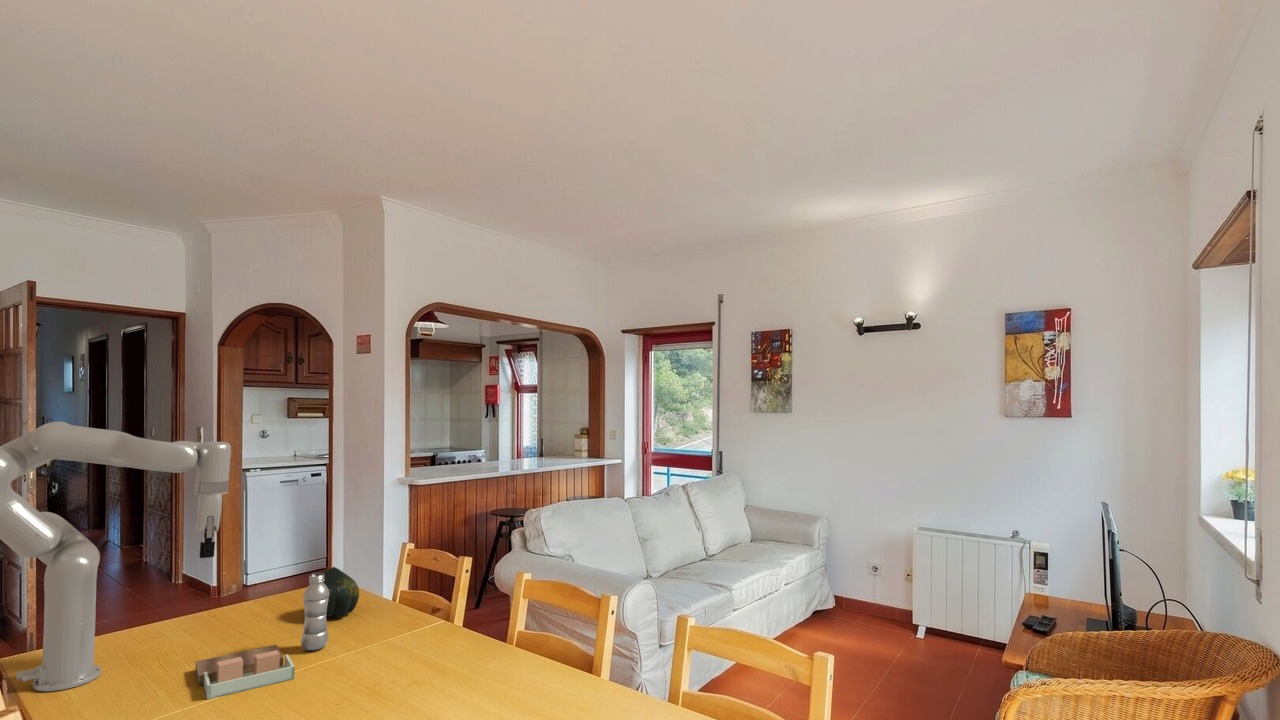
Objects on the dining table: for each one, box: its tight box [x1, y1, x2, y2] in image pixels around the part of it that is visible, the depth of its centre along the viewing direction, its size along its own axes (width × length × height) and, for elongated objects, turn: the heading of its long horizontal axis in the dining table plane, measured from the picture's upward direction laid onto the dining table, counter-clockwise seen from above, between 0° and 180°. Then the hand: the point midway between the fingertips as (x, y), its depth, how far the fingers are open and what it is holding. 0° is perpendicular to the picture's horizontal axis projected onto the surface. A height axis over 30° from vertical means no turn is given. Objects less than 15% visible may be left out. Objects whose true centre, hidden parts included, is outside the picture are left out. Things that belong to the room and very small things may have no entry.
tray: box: [203, 653, 296, 700], centre depth 161 cm, size 18×9×3 cm, turn 128°
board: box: [195, 644, 284, 687], centre depth 167 cm, size 18×10×2 cm, turn 128°
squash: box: [323, 566, 360, 619], centre depth 207 cm, size 14×15×15 cm
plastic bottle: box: [300, 572, 329, 652], centre depth 181 cm, size 6×7×20 cm
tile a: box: [216, 657, 243, 683], centre depth 159 cm, size 5×5×3 cm
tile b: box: [254, 650, 280, 675], centre depth 164 cm, size 5×5×3 cm
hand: (206, 556), depth 177 cm, fingers closed
